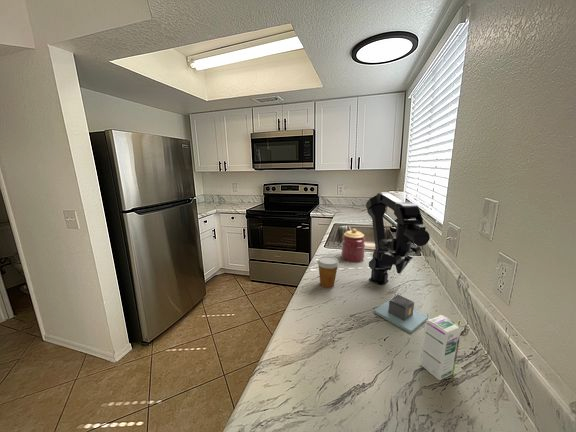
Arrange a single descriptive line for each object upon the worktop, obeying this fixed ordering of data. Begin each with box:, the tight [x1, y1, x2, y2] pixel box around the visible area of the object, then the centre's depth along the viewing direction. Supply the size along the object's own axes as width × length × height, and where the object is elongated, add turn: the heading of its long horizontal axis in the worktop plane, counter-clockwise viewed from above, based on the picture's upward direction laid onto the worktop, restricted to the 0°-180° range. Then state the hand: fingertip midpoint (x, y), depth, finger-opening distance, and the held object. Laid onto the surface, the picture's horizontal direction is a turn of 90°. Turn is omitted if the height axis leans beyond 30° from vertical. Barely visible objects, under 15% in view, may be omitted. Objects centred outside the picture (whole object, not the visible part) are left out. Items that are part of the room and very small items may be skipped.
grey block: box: [388, 294, 415, 321], centre depth 87 cm, size 6×6×5 cm
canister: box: [340, 228, 366, 263], centre depth 137 cm, size 13×13×18 cm
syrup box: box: [420, 314, 462, 382], centre depth 64 cm, size 6×6×14 cm
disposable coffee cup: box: [316, 255, 340, 289], centre depth 108 cm, size 10×10×12 cm
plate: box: [373, 299, 429, 334], centre depth 87 cm, size 14×12×1 cm
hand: (398, 273), depth 95 cm, fingers closed
